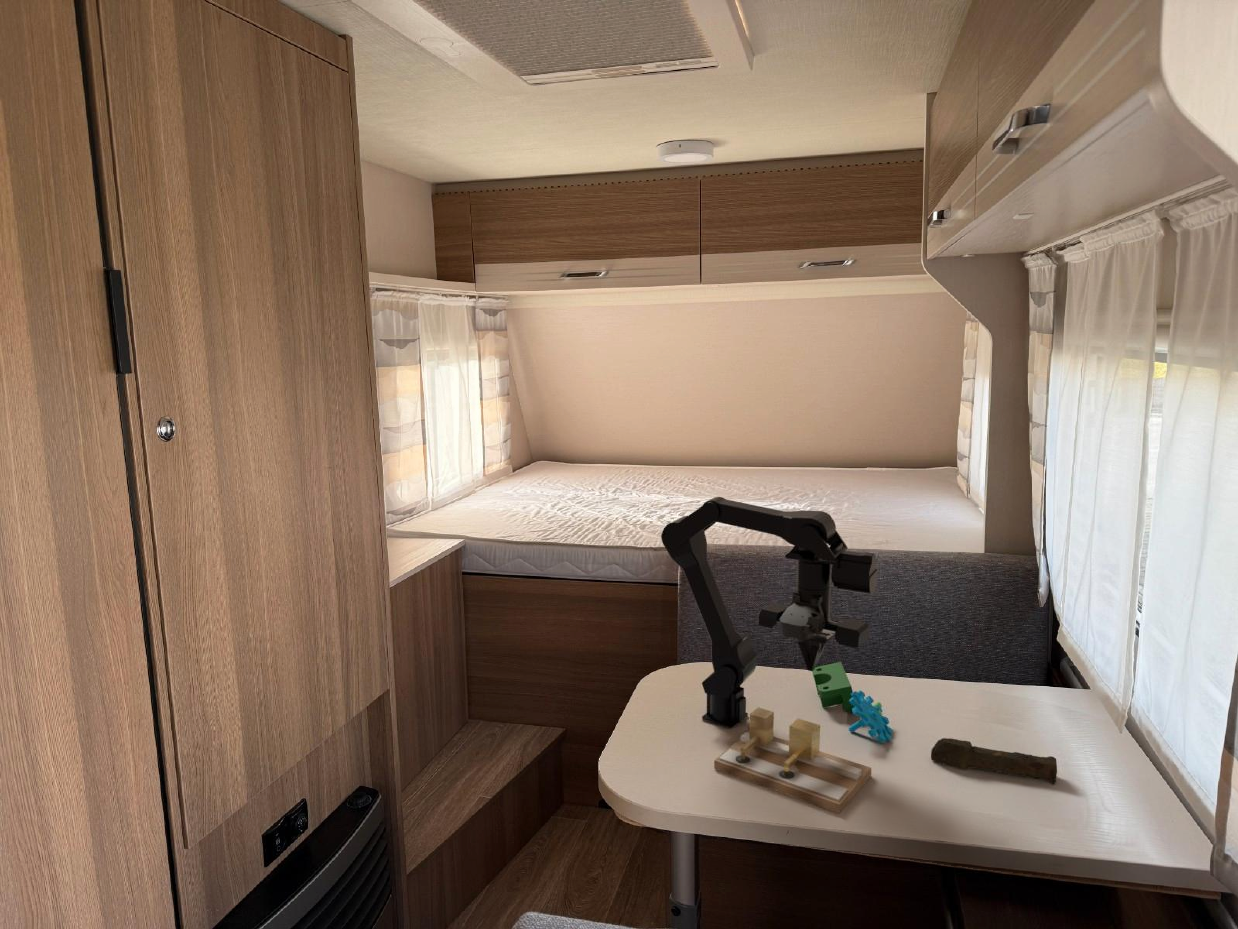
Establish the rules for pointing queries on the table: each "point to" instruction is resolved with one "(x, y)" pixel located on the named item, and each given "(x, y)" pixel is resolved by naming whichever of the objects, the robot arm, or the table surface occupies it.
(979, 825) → the table surface
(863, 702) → the gear
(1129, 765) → the table surface
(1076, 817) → the table surface
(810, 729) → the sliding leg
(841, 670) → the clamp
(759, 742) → the wooden base with blocks
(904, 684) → the table surface
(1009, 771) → the hand tool
